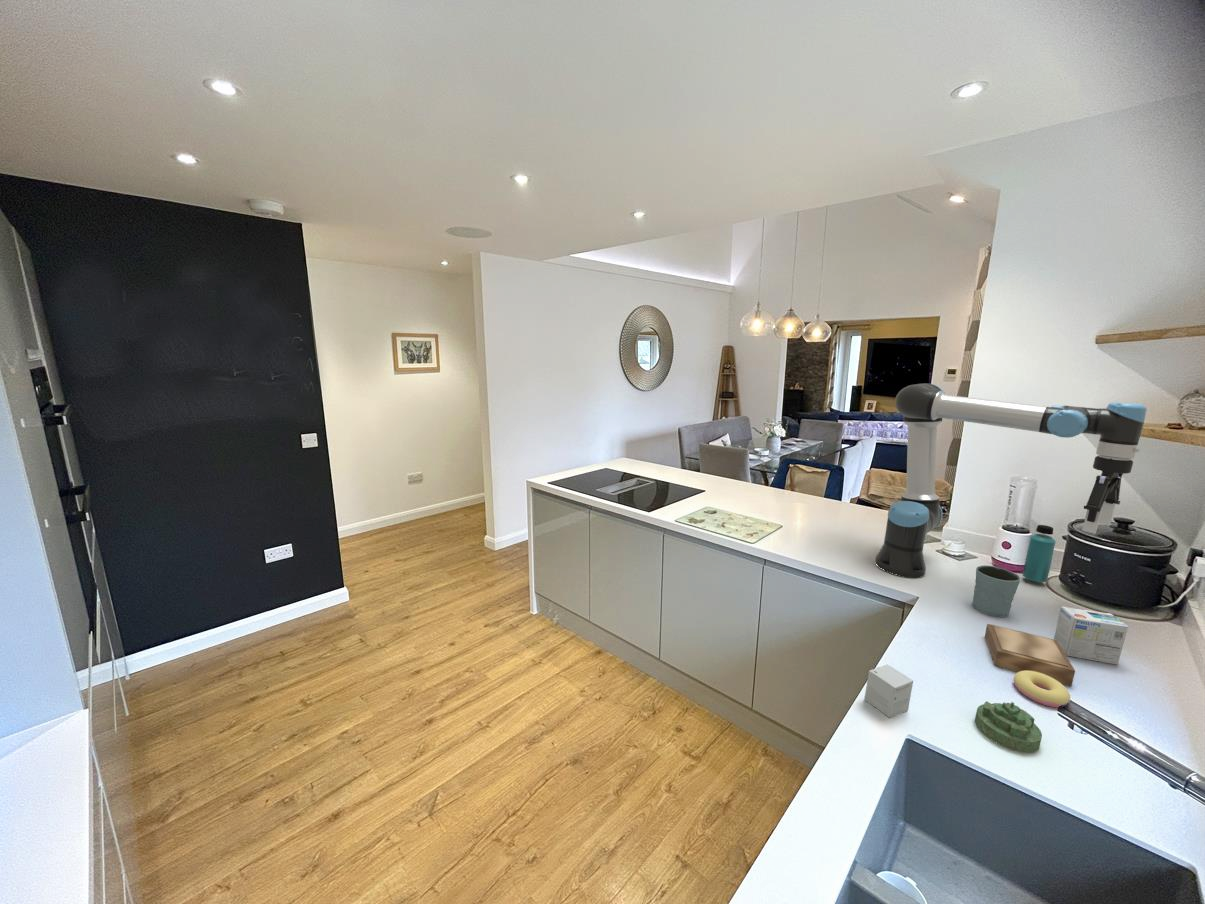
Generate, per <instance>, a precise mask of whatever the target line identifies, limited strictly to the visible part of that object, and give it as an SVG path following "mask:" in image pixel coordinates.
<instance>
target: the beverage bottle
mask: <svg viewBox="0 0 1205 904" xmlns="http://www.w3.org/2000/svg"><path fill="white" fill-rule="evenodd" d="M1035 531H1036V532H1037V533H1035V534H1032V535H1031V536H1030V538H1029V543H1028V547H1027V552H1026V555H1025V561H1024V564H1023V565H1024V566H1023V569H1022V576H1023V577H1024V578H1025V579H1027V580H1029V581H1033V582H1037V583H1045V582H1047V581H1048V580H1049V574H1050V571H1051V567H1052V560H1053V559H1054V558H1053V555H1054V551H1055V546H1056V543H1057V541H1056V540H1055V539H1054V538H1053V537H1052V536H1051V535H1054V527H1053V526H1050V525H1045V524H1038V525H1037V527H1036V529H1035Z"/></svg>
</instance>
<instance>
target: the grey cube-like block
mask: <svg viewBox="0 0 1205 904" xmlns="http://www.w3.org/2000/svg"><path fill="white" fill-rule="evenodd" d="M913 685H914V680H913V679H912V678H910V677H909V676H907V675H906V674H904V673H903V672H900V671H899V670H897V669H896V668H894V667H893V666H891V665H889V664H885V665H882V666H877V667H875V668H873V669H870V670H869V671H868V675H867V681H866V687H865V694H864V700H865V701H866V702H867V703H868V704H870V705H871V706H872V707H874V708H875V707H876V708H875V709H876V710H878V711H880V712H881V713H882V714H884V715H885V716H887V717H888V718H889V717H890V718H892V716H893V717H895V716H897V715H899V713H900V714H902V713H904V712H907V711H909V708H910V702H911V697H912V691H913ZM894 715H895V716H894Z"/></svg>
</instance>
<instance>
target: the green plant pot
mask: <svg viewBox="0 0 1205 904" xmlns="http://www.w3.org/2000/svg"><path fill="white" fill-rule="evenodd" d="M975 568H976V569H975V579H974V580H975V585H974V589H973V598H972V606H973V608H974V609H976V610H977V611H979V612H981V613H983V614H986V615H989V616H993V617H999V618H1005V617H1008V616H1009V615H1010V612H1011V610H1012V603H1013V601H1014V597H1015V595H1016V593H1017V590H1018V587H1019V585H1020V582H1021V577H1020V575H1018V574H1017V573H1015V572H1013V571H1012V570H1008V569H1006V568H1003V567H999V566H995V565H986V564H985V565H979V566H976V567H975Z"/></svg>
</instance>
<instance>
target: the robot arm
mask: <svg viewBox="0 0 1205 904" xmlns="http://www.w3.org/2000/svg"><path fill="white" fill-rule="evenodd" d="M894 405H895V408H896V411H898V413H899V414H900V415H902V416H903V417H902V418H903V419H902V420H903V421H902V423H903V424H905V425H906V426H907V447H906V448H907V452H906V453H907V454H906V456H907V457H906V488H905V489H906V490H905V492H903V493H902V494H901V499H900V500H899V501H895V502H892V503H891V504H890V507H889V509H888V513H887V522H886V527H885V534H884V539H883V541H884V542H883V544H882V546H881V548H880V550H879V552H878V553H877V555H876V557H875V561H874V563H875V562H876V564H877V565H878V566H879V567H880V568H882V569H884V570H885V571H884V572H886V571H888V572H891V573H893V574H892V575H894V574H897V575H896V576H898V575H900V576H899V577H902V576H904V577H903V578H909V577H913V579H916V578H915V577H918V578H922V577H924V576H925V574H926V570H927V569H926V568H927V567H926V562H925V557H924V554H923V552H924V544H925V539H926V536H927V534H928V533H930V532H931V531H933V530H935V529H936V528H937V527H938V526H939V525H940V523H941V521H942V520H943V516H944V515H943V509H942V507H941V505H940V496H939V495H938V494H937V493H936V491H935V490H936V464H937V463H936V462H937V461H936V456H937V435H938V434H937V431H938V430H937V429H938V428H937V427H938V426H939V425H940V424H941V423H942V422H943V419H944V420H945V419H946V420H952V421H960V422H966V423H967V422H968V423H973V424H981V425H987V426H993V427H994V426H995V427H1002V428H1008V429H1013V430H1014V429H1015V430H1022V431H1028V432H1037V433H1042V434H1047V435H1048V434H1049V435H1054V436H1056V437H1057V438H1058V437H1059V438H1067V439H1069V438H1074V437H1076V436H1078V435H1081V434H1086V435H1088V434H1089V435H1099V436H1100V437H1099V440H1098V444H1097V448H1096V452H1095V454H1096V455H1097V456H1095V457H1094V461H1093V464H1092V468H1093V469H1095V470H1097V471H1101V473H1100V475H1099V474H1098V475H1097V476H1096V479H1095V482H1094V485H1093V488H1092V490H1091V492H1090V496H1089V497H1088V500H1087V502H1086V505H1083V509H1084V510H1086V512H1085V517H1084V518H1085V519H1084V521H1083V525H1082V530H1081V531H1082V532H1086V533H1090V534H1094V535H1095V534H1096V533H1097V530H1098V527H1099V524H1100V525H1105V526H1109V527H1110V526H1111V523H1112V519H1113V516H1114V512H1115V509H1116V505H1120V504H1121V500H1120V492H1121V484H1122V478H1123V475H1125V474H1127V475H1128V474H1130V473H1131V472H1132V468H1133V465H1134V461H1133V459H1134V458H1135V456H1136V453H1139V452H1140V448H1138V445H1139V442H1140V438H1141V435H1142V431H1143V428H1144V424H1145V420H1146V414H1147V410H1148V408H1147V407H1146V406H1145V405H1144V404H1141V403H1133V402H1131V403H1130V402H1116V401H1115V402H1112V401H1111V402H1110V403H1108V404H1107V406H1106V408H1095V407H1084V406H1072V405H1071V406H1070V405H1052V406H1045V405H1035V404H1028V403H1027V404H1025V403H1019V402H1018V403H1017V402H1010V401H1009V402H1008V401H1001V400H992V399H984V398H976V397H967V396H959V395H953V394H952V395H951V394H946V392H945V391H944V389H942V387H940V386H938V385H936V384H932V383H926V382H925V383H924V382H923V383H917V384H915V383H914V384H910V385H906V387H903V388H902V389H901V390H899V391H898V393H897V394H896V396H895V400H894ZM876 564H875V565H876ZM879 567H878V568H879ZM880 568H879V569H880ZM882 569H881V570H882ZM888 572H887V573H888ZM891 573H890V574H891Z"/></svg>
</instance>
